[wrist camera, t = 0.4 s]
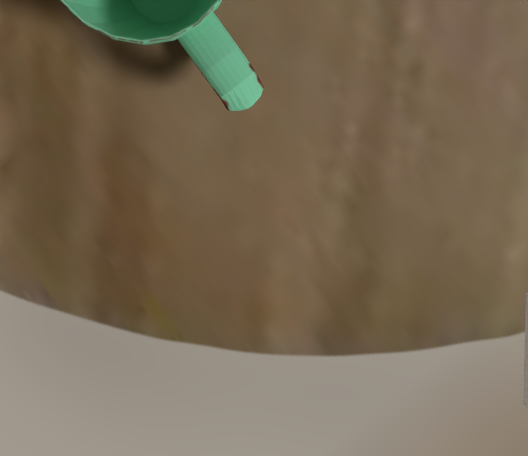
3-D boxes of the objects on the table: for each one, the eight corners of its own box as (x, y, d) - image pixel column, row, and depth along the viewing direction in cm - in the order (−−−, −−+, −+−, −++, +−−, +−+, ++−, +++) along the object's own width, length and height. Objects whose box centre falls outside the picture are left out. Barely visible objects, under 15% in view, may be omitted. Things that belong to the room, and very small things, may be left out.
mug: (57, -33, 33) (-13, -94, 24) (175, -128, 33) (152, -230, 23) (193, 147, 37) (180, 159, 27) (304, 65, 36) (331, 47, 26)
